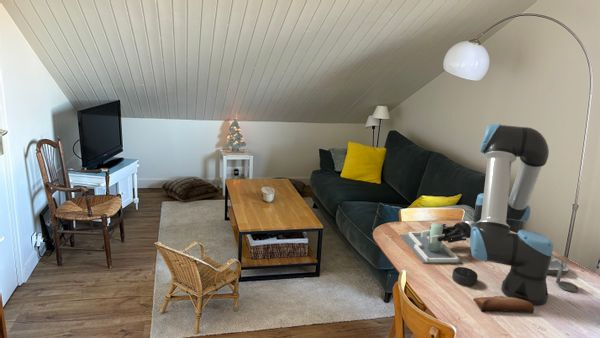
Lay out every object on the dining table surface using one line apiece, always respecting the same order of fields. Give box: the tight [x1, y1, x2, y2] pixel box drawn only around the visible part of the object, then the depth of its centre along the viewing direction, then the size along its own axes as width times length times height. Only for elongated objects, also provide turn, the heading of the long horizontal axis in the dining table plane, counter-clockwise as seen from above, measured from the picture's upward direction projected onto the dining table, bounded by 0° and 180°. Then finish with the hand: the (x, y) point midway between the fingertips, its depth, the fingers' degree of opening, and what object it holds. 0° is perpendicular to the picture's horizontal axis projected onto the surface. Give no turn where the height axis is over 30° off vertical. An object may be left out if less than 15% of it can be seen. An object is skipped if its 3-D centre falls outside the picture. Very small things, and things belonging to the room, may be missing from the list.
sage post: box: [428, 222, 443, 252], centre depth 189 cm, size 5×5×11 cm
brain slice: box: [547, 255, 570, 276], centre depth 184 cm, size 20×17×3 cm
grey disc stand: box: [555, 260, 579, 292], centre depth 166 cm, size 8×8×10 cm
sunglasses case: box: [472, 295, 535, 314], centre depth 150 cm, size 18×7×7 cm
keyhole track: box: [399, 231, 463, 265], centre depth 193 cm, size 28×17×2 cm, turn 8°
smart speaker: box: [451, 266, 478, 287], centre depth 166 cm, size 9×9×4 cm
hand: (426, 236), depth 186 cm, fingers closed on sage post, 5 cm apart
